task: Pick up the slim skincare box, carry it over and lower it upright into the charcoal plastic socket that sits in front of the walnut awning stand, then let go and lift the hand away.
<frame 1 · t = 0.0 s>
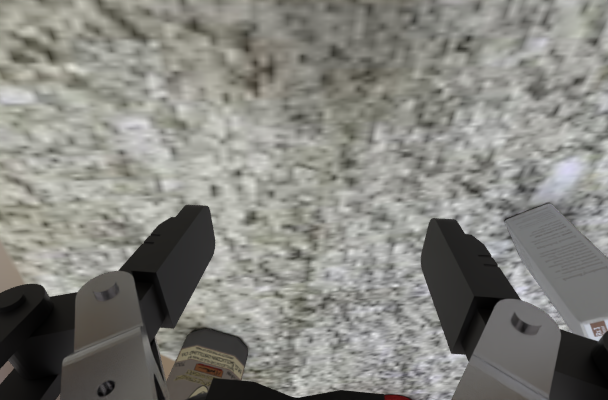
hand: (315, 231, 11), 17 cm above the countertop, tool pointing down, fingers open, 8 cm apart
skincare box: (530, 230, 31), on the countertop
liquor: (217, 346, 47), on the countertop
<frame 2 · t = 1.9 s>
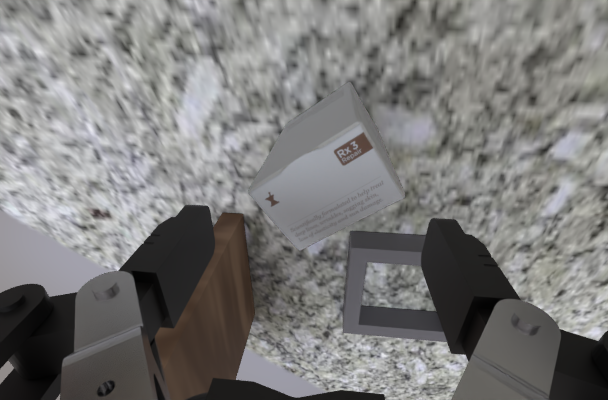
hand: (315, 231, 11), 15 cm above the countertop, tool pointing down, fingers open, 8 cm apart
skincare box: (331, 121, 24), on the countertop
socket: (402, 280, 31), on the countertop
awning stand: (258, 269, 33), on the countertop
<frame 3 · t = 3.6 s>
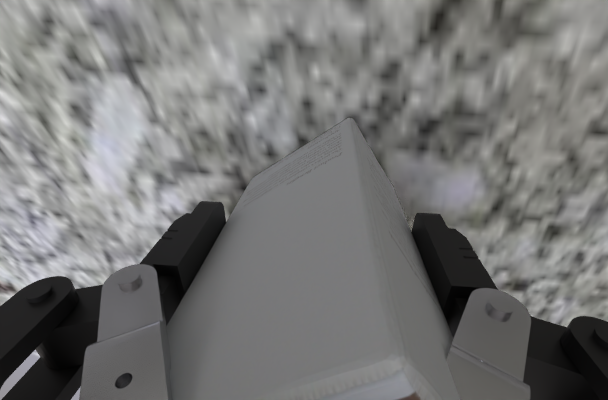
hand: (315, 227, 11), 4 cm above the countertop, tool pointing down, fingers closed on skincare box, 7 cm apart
skincare box: (321, 174, 16), on the countertop, touching gripper
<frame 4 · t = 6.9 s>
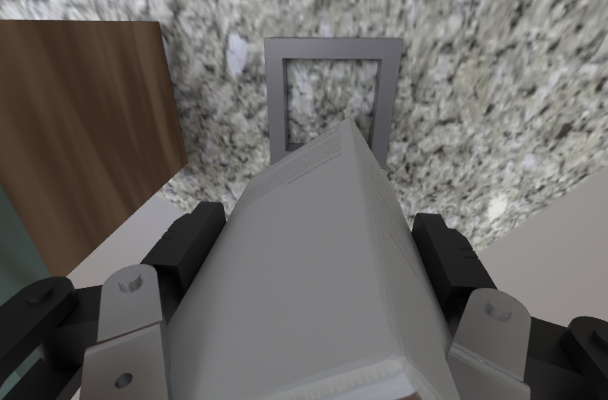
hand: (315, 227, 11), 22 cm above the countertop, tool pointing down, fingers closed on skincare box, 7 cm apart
skincare box: (321, 174, 16), point 17 cm above the countertop, touching gripper
socket: (330, 103, 30), on the countertop
awning stand: (184, 100, 31), on the countertop
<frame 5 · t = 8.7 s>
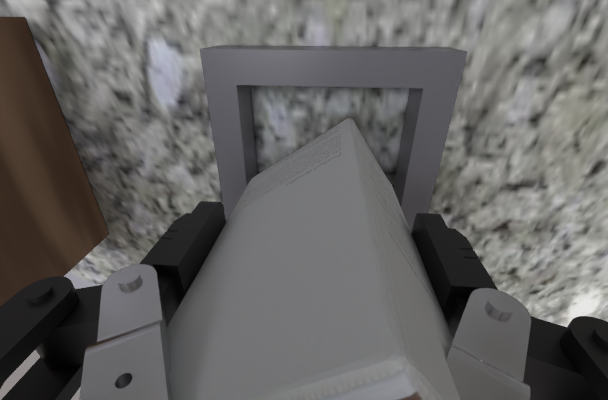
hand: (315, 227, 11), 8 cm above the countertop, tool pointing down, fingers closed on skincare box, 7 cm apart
skincare box: (321, 174, 16), point 3 cm above the countertop, touching gripper
socket: (325, 154, 18), on the countertop
awning stand: (89, 145, 19), on the countertop
when the fingers open (5 cm above the countertop, at t = 10.3 s): skincare box stays where it is, resting in socket.
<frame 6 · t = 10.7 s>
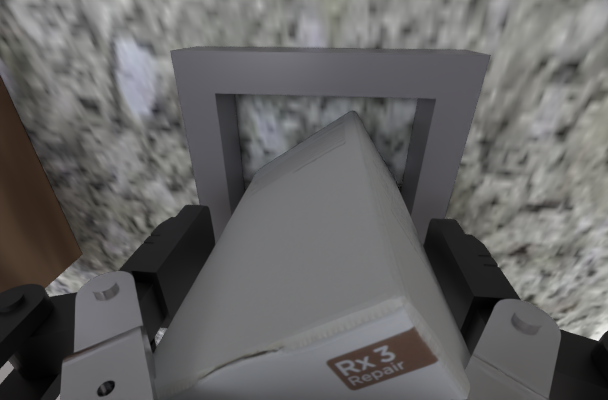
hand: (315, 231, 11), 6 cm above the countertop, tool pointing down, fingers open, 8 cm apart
skincare box: (325, 166, 16), resting in socket
socket: (321, 170, 16), on the countertop
awning stand: (54, 158, 17), on the countertop
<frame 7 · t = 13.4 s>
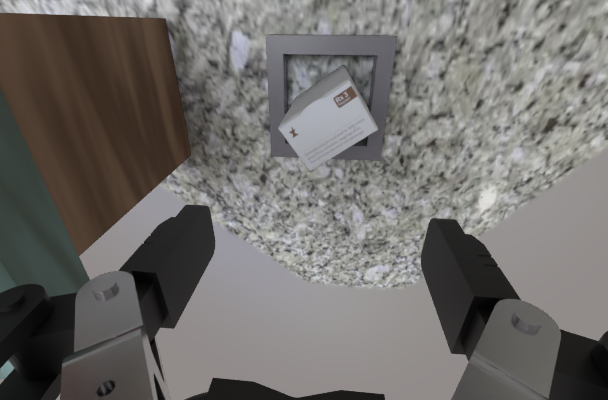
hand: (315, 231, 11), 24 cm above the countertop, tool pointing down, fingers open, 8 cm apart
skincare box: (329, 96, 32), resting in socket
socket: (328, 97, 32), on the countertop
awning stand: (188, 94, 33), on the countertop
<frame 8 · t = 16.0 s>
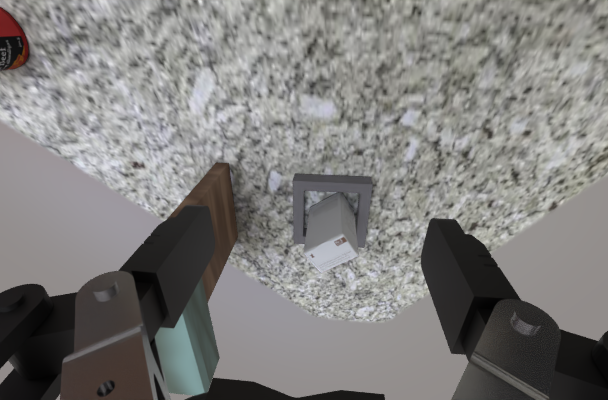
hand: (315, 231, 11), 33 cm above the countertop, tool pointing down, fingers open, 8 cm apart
skincare box: (331, 206, 49), resting in socket
canned food: (2, 36, 41), on the countertop
socket: (330, 207, 49), on the countertop
awning stand: (239, 202, 50), on the countertop
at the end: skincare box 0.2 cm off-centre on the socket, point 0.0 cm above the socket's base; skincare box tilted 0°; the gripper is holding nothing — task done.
